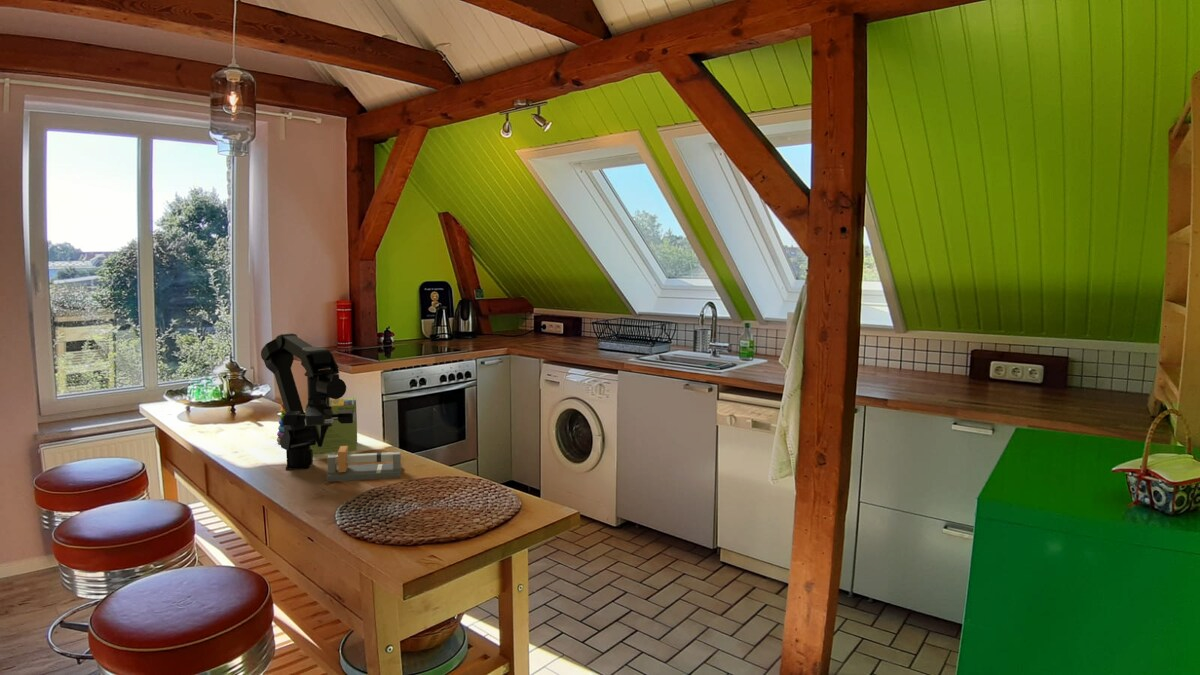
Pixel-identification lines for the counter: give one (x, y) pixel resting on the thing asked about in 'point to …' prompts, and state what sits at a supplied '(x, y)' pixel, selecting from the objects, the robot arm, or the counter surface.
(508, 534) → the counter surface
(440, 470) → the counter surface
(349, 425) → the protein box
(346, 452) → the collar
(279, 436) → the stacking toy
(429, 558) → the counter surface
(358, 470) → the pipe rig
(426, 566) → the counter surface
